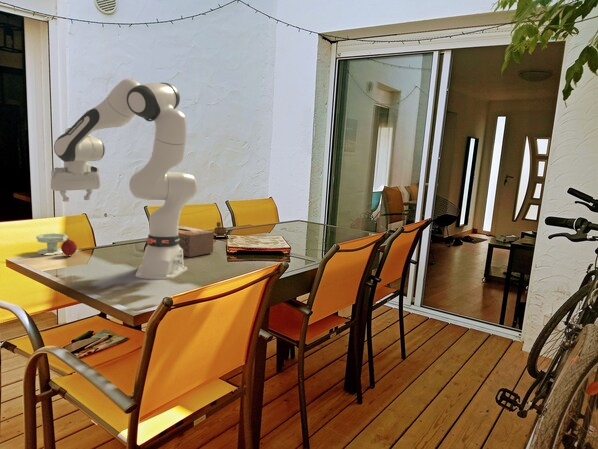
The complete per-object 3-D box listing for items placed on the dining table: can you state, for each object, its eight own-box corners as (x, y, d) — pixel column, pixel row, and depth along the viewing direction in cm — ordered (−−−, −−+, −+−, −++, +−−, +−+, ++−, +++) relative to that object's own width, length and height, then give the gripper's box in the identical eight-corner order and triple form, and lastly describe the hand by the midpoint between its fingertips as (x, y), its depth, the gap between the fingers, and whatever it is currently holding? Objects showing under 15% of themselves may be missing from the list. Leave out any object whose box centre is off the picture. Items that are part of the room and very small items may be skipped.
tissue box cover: (213, 252, 207) (213, 232, 206) (189, 257, 196) (190, 235, 194) (177, 244, 222) (177, 224, 220) (153, 247, 210) (154, 227, 208)
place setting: (201, 236, 249) (201, 226, 248) (216, 231, 269) (216, 221, 268) (229, 239, 245) (230, 229, 244) (242, 234, 264) (243, 224, 264)
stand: (59, 256, 182) (58, 238, 181) (32, 254, 181) (31, 237, 180) (71, 250, 193) (71, 234, 192) (46, 249, 192) (45, 233, 191)
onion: (79, 256, 183) (78, 238, 182) (64, 258, 179) (64, 239, 177) (73, 254, 187) (73, 236, 186) (59, 255, 183) (59, 237, 181)
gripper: (56, 168, 168) (57, 203, 170) (102, 168, 186) (102, 200, 188) (46, 166, 171) (47, 201, 173) (93, 166, 189) (93, 198, 191)
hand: (76, 200), depth 181 cm, fingers open, 8 cm apart
